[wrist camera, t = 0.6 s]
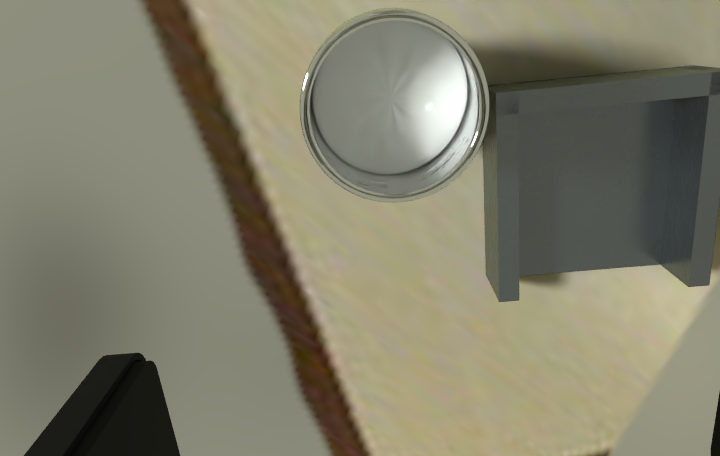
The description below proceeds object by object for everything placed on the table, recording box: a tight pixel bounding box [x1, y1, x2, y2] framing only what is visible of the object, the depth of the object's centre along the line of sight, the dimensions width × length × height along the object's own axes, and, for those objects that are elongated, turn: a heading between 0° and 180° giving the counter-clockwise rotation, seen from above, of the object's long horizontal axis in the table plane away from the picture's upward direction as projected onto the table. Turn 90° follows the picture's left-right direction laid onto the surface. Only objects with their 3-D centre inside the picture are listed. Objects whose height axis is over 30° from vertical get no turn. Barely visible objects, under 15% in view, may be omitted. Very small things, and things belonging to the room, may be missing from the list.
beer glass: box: [300, 8, 489, 203], centre depth 26 cm, size 7×7×15 cm
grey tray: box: [483, 66, 720, 302], centre depth 33 cm, size 12×12×4 cm
